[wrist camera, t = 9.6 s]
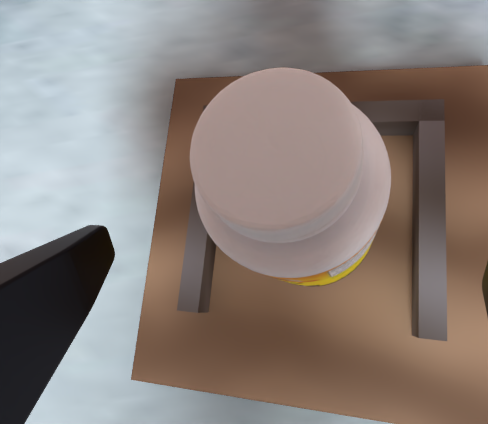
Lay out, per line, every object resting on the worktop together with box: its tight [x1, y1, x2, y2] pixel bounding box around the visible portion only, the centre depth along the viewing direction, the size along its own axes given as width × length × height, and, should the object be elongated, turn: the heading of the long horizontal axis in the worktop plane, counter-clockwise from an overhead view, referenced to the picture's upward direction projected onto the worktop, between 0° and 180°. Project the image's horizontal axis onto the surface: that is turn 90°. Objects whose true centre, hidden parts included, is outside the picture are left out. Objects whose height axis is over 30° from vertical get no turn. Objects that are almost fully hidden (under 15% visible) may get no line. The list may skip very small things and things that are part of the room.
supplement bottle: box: [190, 67, 391, 287], centre depth 13 cm, size 6×6×10 cm
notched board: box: [131, 65, 488, 424], centre depth 18 cm, size 16×16×3 cm
